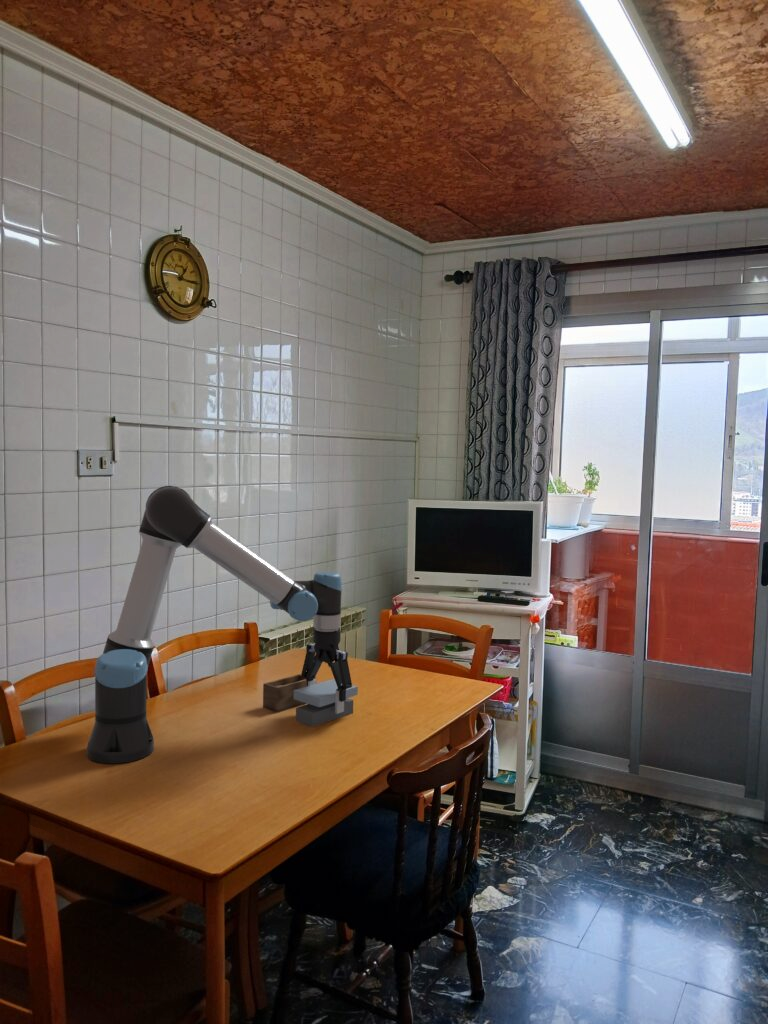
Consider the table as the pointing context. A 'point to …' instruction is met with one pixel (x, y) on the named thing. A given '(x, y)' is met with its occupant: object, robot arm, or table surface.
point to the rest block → (321, 713)
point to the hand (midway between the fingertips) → (325, 707)
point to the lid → (322, 693)
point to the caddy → (282, 693)
